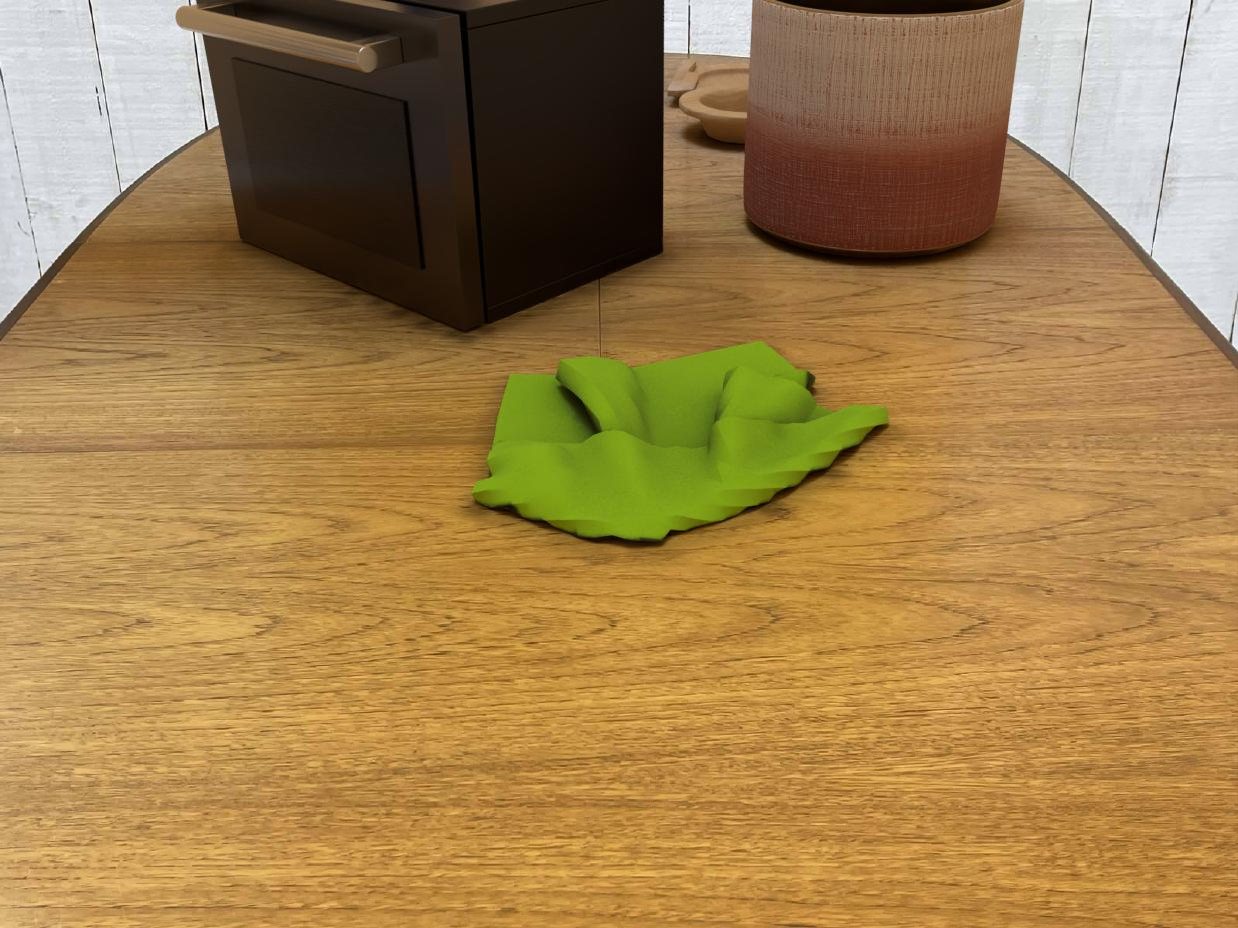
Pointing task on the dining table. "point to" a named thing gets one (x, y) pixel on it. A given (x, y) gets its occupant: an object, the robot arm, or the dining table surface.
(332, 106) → the oven door
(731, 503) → the cloth
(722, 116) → the tableware set
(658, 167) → the oven
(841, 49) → the planter
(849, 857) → the dining table surface
